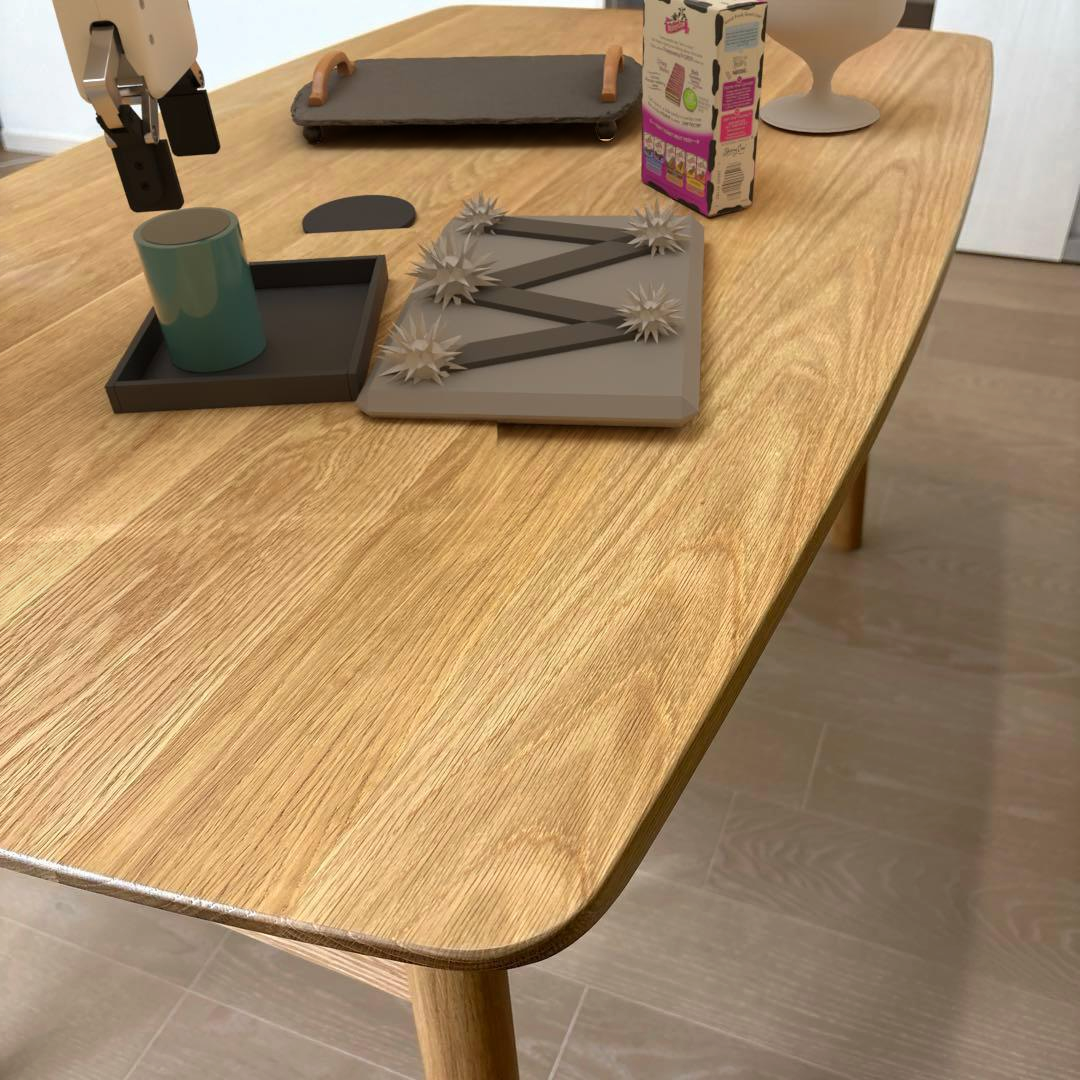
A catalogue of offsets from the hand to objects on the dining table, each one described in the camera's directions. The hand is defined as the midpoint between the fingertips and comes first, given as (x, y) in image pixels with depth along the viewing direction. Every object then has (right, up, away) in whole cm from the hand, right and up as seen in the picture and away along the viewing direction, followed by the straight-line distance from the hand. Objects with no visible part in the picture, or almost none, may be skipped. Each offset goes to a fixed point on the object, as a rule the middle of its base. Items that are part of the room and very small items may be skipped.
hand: (179, 180), depth 68 cm
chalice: (+52, +21, +42) cm, 70 cm away
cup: (0, -9, +8) cm, 12 cm away
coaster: (+7, +5, +27) cm, 28 cm away
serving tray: (+16, +24, +49) cm, 57 cm away
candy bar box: (+37, +8, +28) cm, 47 cm away
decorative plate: (+24, -7, +10) cm, 27 cm away
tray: (+3, -9, +9) cm, 13 cm away
